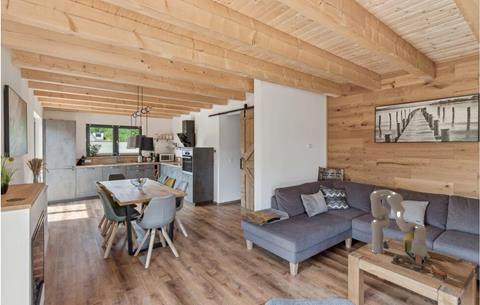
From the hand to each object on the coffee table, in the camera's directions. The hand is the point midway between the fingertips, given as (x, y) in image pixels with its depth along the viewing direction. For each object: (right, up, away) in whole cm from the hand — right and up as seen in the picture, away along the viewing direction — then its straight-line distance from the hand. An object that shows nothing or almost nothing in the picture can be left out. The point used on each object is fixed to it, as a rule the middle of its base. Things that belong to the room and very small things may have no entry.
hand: (418, 262), depth 197 cm
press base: (-5, -7, +6) cm, 10 cm away
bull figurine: (+6, -8, -11) cm, 15 cm away
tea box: (+10, -6, +18) cm, 21 cm away
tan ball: (-8, -5, +9) cm, 14 cm away
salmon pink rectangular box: (0, -5, +1) cm, 5 cm away
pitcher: (+20, -5, +33) cm, 39 cm away
